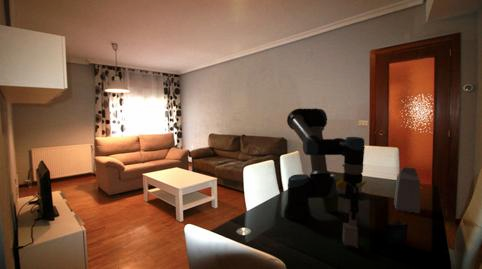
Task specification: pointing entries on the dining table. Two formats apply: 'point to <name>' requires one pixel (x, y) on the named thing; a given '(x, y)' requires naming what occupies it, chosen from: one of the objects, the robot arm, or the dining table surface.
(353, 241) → the cap
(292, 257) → the dining table surface
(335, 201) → the plant pot
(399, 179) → the milk
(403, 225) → the flask
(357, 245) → the post
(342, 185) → the fruit bowl
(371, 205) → the dining table surface
